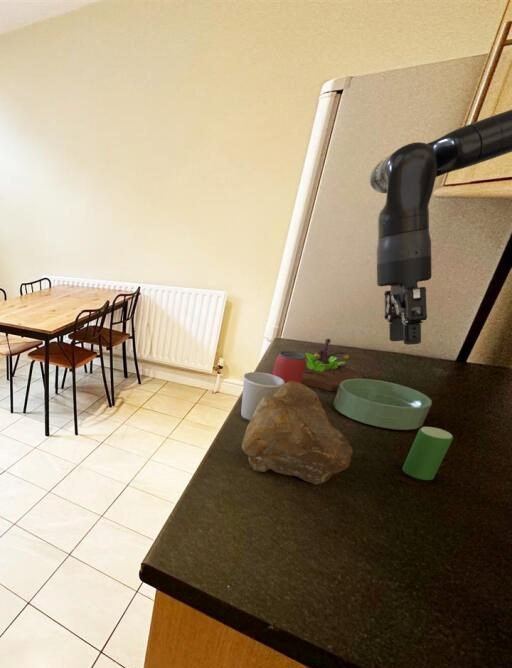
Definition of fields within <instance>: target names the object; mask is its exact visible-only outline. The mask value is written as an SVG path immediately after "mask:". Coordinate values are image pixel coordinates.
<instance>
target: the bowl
mask: <svg viewBox="0 0 512 668" xmlns="http://www.w3.org/2000/svg"><path fill="white" fill-rule="evenodd" d="M333 400H334V401H333V407H334V409H335V410H337V411H338V413H340V414H342V415H344V416H345V417H348V418H349V419H352V420H354V421H357V422H359V423H363V424H366V425H370V426H373V427H378V428H382V429H390V430H401V431H409V430H417V429H420V428H422V427H423V425H424V422H425V420H426V417H427V415H428V413H429V411H430V409H431V407H432V403H433V401H432V399H431V398H430V397H429V396H428V395H426V394H424V393H423V392H421V391H419V390H416V389H413V388H411V387H408V386H405V385H402V384H398V383H394V382H391V381H390V382H389V381H385V380H378V379H371V378H362V379H348V380H345V381H342V382H341V383H340V385H339V388H338V391H337V392H336V395H335V397H334V399H333Z"/></svg>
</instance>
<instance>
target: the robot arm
mask: <svg viewBox="0 0 512 668" xmlns="http://www.w3.org/2000/svg"><path fill="white" fill-rule="evenodd" d="M509 153H512V109H509V110H505V111H503V112H500V113H498V114H493V115H491V116H488V117H486V118H483V119H481V120H478V121H476V122H473V123H470V124H467V125H464V126H461V127H459V128H456V129H454V130H452V131H450V132H448V133H446V134H444V135H443V136H441V137H439V138H437V139H435V140H433V141H430V142H428V143H425V142H420V141H419V142H417V141H416V142H410V143H407V144H405V145H403V146H401V147H400V148H398V149H396V150H395V151H393V152H392V153H391V154H389V155H387V156H386V157H384V158H383V159H382V160H381V161H379V162H378V163H377V164H376V165H375V166H374V167H373V169H372V171H371V173H370V175H369V184H370V187H371V188H372V189H373V190H374V191H376V192H377V193H379V194H386V197H385V204H384V206H383V207H382V208H381V209H380V210H379V212H378V215H377V243H376V244H377V245H376V251H375V252H376V284H377V286H378V287H387V286H390V290H385V291H384V316H383V317H384V320H386V322H387V323H388V328H389V331H388V332H389V341H391V342H403V344H404V345H409V346H411V345H419V344H421V343H422V324H423V322H424V321H426V320H427V318H428V312H427V311H428V310H427V309H428V308H427V288H426V286H420V287H419V285H418V283H419V282H427V281H429V280H431V279H432V237H431V234H430V211H429V210H430V208H429V206H430V205H429V204H430V201H431V198H432V195H433V191H434V186H435V183H436V180H437V179H436V178H438V177H440V176H443V175H445V174H448V173H452V172H455V171H458V170H463V169H465V168H469V167H472V166H475V165H478V164H481V163H484V162H487V161H490V160H493V159H496V158H499V157H501V156H504V155H507V154H509Z"/></svg>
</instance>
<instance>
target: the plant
mask: <svg viewBox="0 0 512 668" xmlns="http://www.w3.org/2000/svg"><path fill="white" fill-rule="evenodd" d="M331 341H332V340H331V339H330V338H326V339H325V340H324V345H323V348H322V349H320V350H319V351H317V352H316V353H314V355H313V354H312V353H310V352H306V353H305V356H306V358H305V359H306V367H305V371H304V374H303V378H302V381H301V384H303V385H305V386H307V387H309V388H315V389H319V390H324V391H327V392H333V393H337V391H338V388H339V385H340V383H341V382H342V381H345V380H348V379H363V377H362V374H361V372H360V371H359V370H358V368H354V367H351V366H349V365H348V364H346V363H347V362H346V361H336V360H337V358H338V357H337V356H335V355H342V358H343V359H345V360H348V359H349V358H350V354H349V353H347V352H344V351H335V352H331V353H329V354H328V347H329V344H331Z"/></svg>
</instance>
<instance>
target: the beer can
mask: <svg viewBox="0 0 512 668" xmlns="http://www.w3.org/2000/svg"><path fill="white" fill-rule="evenodd" d="M305 358H307V355H306V354H304V353H302V352H298V351H292V350H282V351H280V352H279V354H278V356H277V357H276V359H275V360H274V365H273V368H272V373H271V374H272V375H275V376H278V377H280V378H281V379H283V380H284V382H285V384H286V383H287V382H290V381H295V382H298V383H301V381H302V378H303V374H304V371H305V367H306V359H305ZM285 384H284V385H285ZM284 385H283V386H284ZM283 386H282V387H283Z"/></svg>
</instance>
